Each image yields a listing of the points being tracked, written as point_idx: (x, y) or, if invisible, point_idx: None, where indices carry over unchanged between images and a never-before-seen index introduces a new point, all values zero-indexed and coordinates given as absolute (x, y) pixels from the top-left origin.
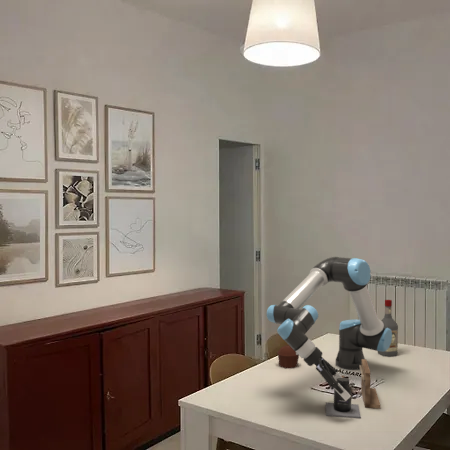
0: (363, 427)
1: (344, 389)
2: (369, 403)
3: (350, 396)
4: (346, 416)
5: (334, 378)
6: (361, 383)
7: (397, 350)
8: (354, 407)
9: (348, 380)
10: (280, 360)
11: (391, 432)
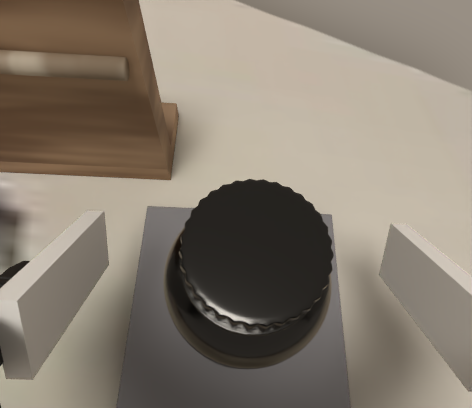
0: (441, 218)
1: (444, 261)
2: (170, 146)
3: (406, 227)
4: (337, 291)
5: (47, 352)
6: None
7: None
8: None
9: (286, 188)
10: None
11: (445, 117)
